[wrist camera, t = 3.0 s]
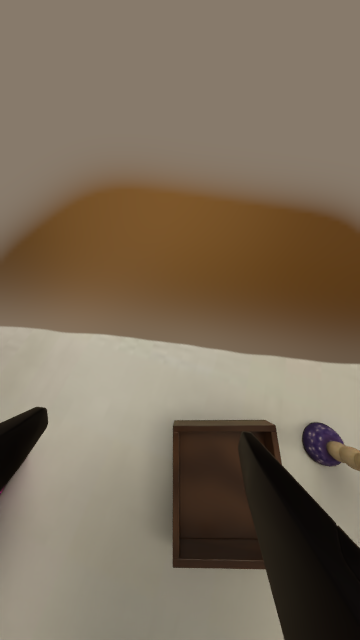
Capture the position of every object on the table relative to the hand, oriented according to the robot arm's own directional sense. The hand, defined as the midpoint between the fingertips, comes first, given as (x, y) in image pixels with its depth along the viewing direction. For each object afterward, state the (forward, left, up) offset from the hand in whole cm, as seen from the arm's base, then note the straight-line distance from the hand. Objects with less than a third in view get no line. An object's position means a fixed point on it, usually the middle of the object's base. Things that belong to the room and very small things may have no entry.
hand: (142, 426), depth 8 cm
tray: (-8, -6, -16) cm, 19 cm away
